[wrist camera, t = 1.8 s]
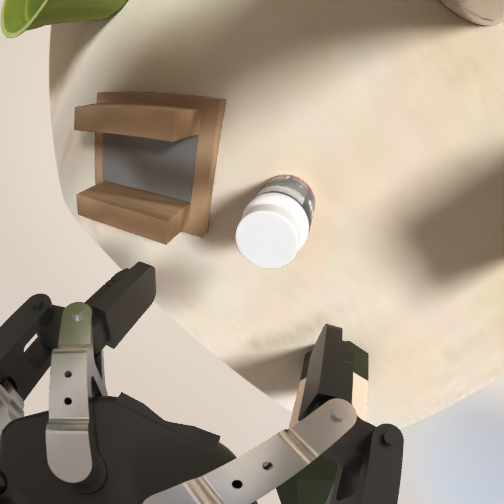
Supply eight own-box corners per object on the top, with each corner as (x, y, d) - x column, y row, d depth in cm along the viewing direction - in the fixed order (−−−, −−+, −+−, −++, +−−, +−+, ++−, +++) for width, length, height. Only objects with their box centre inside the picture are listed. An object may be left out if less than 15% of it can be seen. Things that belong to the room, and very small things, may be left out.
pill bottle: (303, 232, 26) (288, 286, 19) (255, 212, 26) (222, 258, 19) (324, 186, 23) (317, 225, 16) (271, 164, 24) (241, 194, 17)
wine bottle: (296, 373, 35) (225, 589, 10) (316, 332, 31) (236, 608, 6) (353, 387, 34) (310, 599, 9) (381, 349, 30) (348, 613, 5)
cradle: (105, 92, 24) (66, 96, 19) (225, 99, 22) (196, 99, 17) (103, 201, 31) (70, 220, 26) (207, 232, 29) (181, 260, 24)
